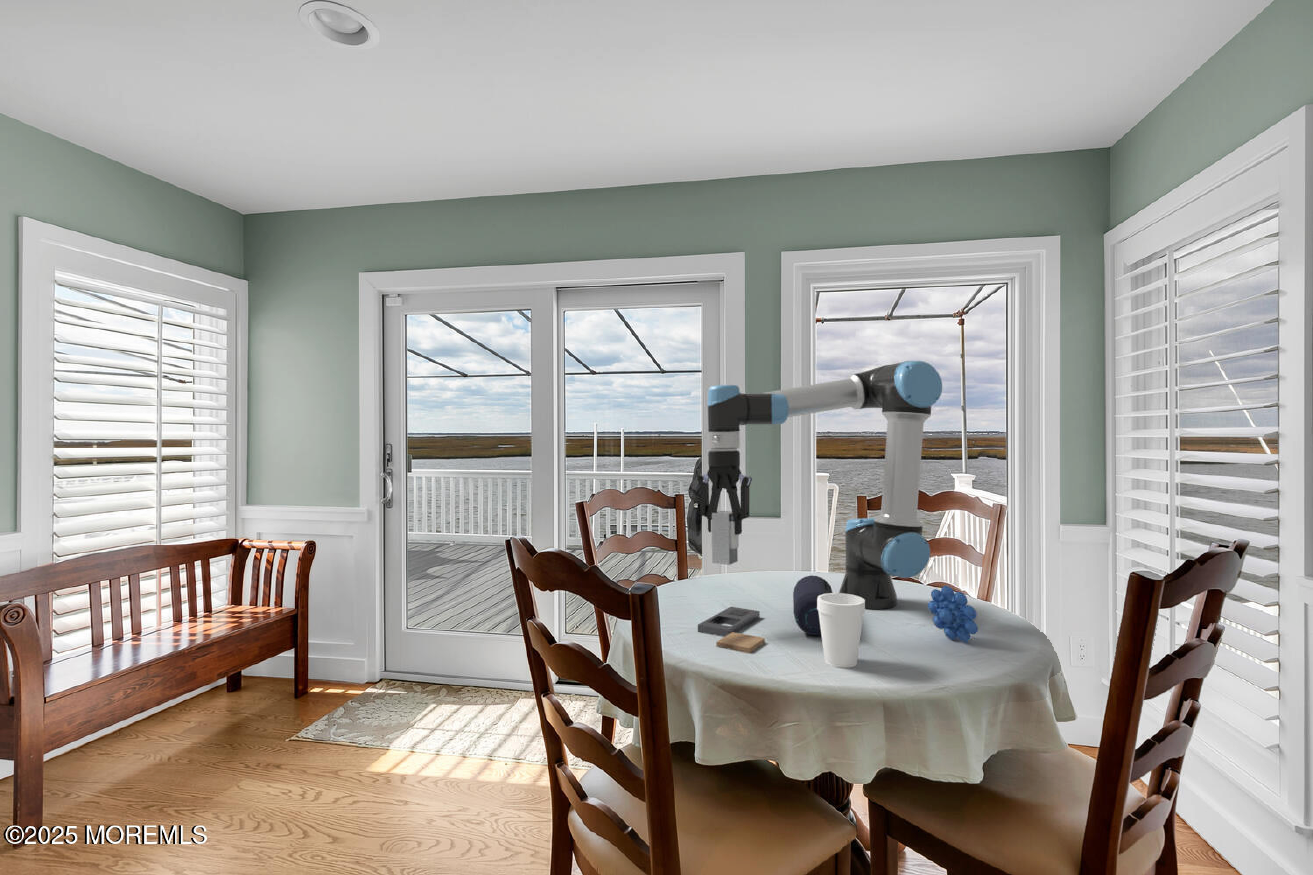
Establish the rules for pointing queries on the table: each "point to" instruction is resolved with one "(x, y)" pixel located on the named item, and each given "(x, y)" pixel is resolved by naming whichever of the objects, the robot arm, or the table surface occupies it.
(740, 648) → the pad
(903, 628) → the table surface
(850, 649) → the foam cup
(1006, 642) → the table surface
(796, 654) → the table surface
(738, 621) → the dark grey slotted board
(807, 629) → the portable speaker
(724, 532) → the tall grey prism
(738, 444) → the robot arm
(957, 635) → the grapes
